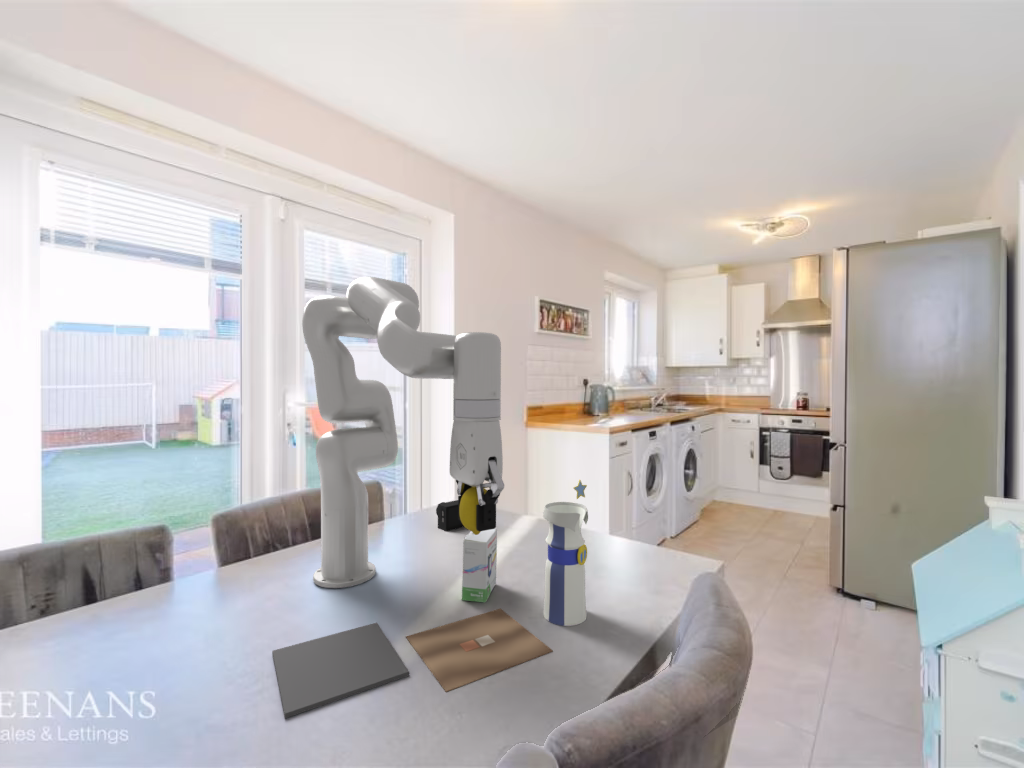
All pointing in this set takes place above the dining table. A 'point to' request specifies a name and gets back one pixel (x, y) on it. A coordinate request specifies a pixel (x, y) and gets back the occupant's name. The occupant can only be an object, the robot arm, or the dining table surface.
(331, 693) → the rubber mat
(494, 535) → the ink box
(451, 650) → the board
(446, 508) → the digital camera
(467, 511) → the lemon
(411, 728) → the dining table surface
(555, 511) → the water bottle
